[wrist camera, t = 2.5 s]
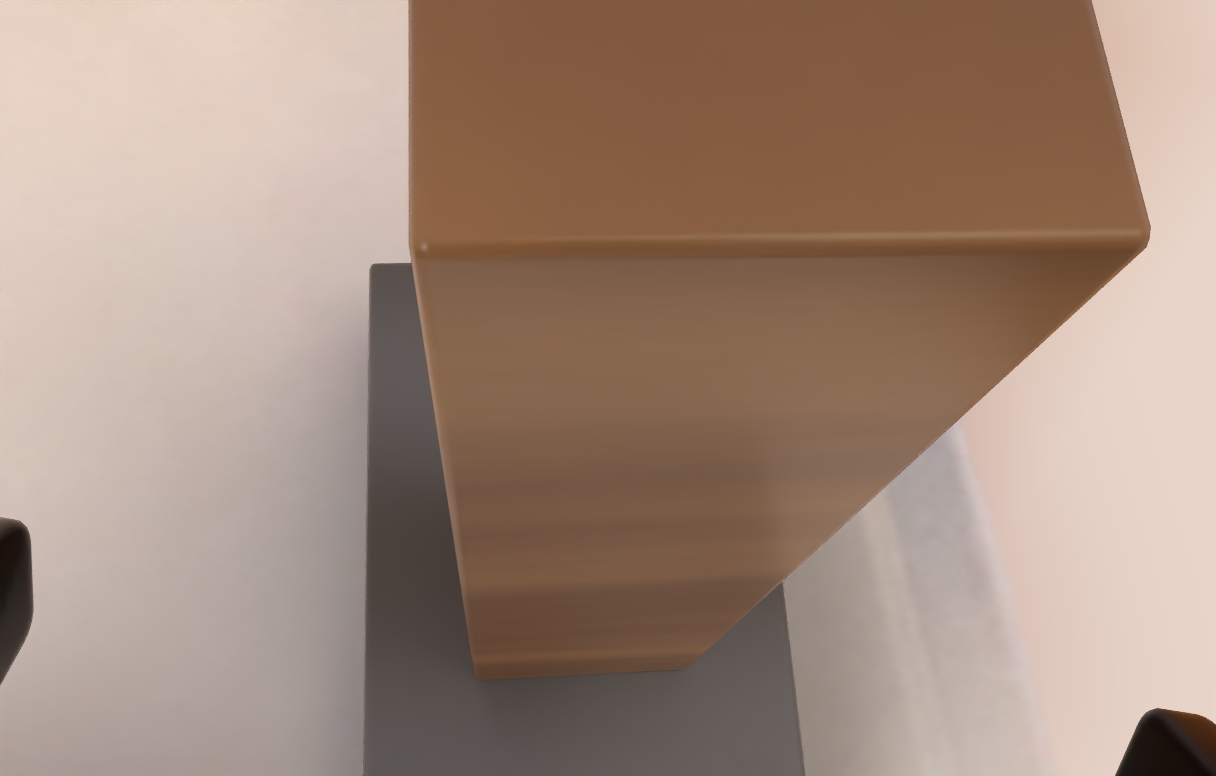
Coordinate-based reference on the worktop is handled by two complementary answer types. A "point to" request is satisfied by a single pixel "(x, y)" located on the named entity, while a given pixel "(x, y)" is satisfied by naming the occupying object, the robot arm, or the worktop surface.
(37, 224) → the worktop surface
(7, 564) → the robot arm
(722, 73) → the duster
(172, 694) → the worktop surface
